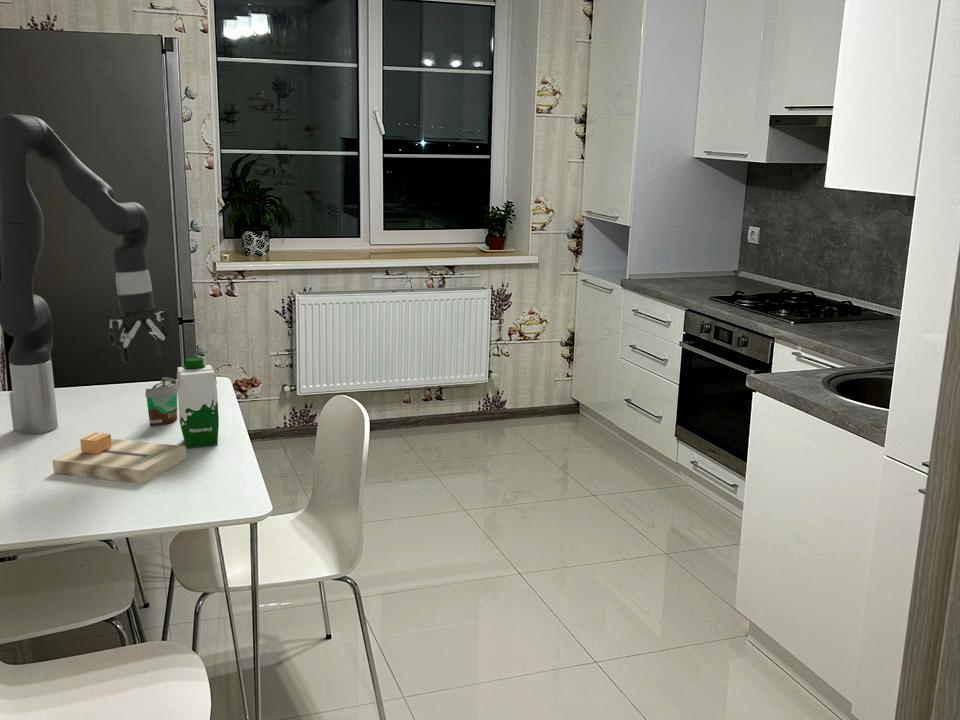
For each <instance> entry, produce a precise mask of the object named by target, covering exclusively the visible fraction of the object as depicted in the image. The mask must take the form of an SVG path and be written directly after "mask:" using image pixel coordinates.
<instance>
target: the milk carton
mask: <svg viewBox="0 0 960 720" xmlns="http://www.w3.org/2000/svg"><path fill="white" fill-rule="evenodd" d="M184 361H185V366H184V365H183V366H179V367H178V366H177V371H176V380H177V386H178V392H177V405H178V413H179V414H178V415H179V425H180V429H181V433H182V437H183V441H184V444H185V448H186V449H195V448H204V447H212V446H218V445H219V443H218V442H219V429H220V428H219V426H220V424H219V423H220V420H219V402H218V387H217V382H218V381H217V376H216V373H215V369H214V368H213V367H212V365H211V364H204V358H203V357H199V356H193V357H187V358H185V359H184Z"/></svg>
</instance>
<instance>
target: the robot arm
mask: <svg viewBox="0 0 960 720" xmlns="http://www.w3.org/2000/svg"><path fill="white" fill-rule="evenodd" d="M27 157H37V158H38V159H40V160H42V161H43V162H45V163H46V164H48V165H49V166H51V168H53V170H55V172H56V173H57V175H58V177H59V179H60V181H61V183H62V185H63V187H64V188H65V189H66V190H67V192H68V193H69V194H71V195H72V196H73V197H74V198H75V199H76V200H77V201H79V202H80V203H81V204H82V205H83V206H84V207H86V208H87V209H88V211H90V214H92V216H93V217H94V218H95V220H96V222H97V223H98V224H99V226H100V227H101V228H103V230H105V231H106V232H108V233H109V234H111V235H115V236H122V241H121V244H119V245H118V246H116V247H115V248H114V249H113V261H114V262H113V264H114V269H115V285H116V291H117V299H118V306H119V312H120V315H121V316H120V319H109V320H108V321H107V325H108V326H107V327H108V336H109V337H108V340H109V345H110V347H111V346H113V347H117V348H118V349H119V356H120V360H121V362H123V364H126V365H128V364H131V362H132V360H131V353H130V347H128V346H129V345H130V342H131V340H132V339H134V337H135V336H139V335H142V334H149V335H151V336H152V337H153V338H155V340H154V343H155V352H156V355H157V357H164V356H165V354H166V351H167V350H166V343H165V339H166V338H168V337H170V336H172V329H171V324H170V317H169V314H168V312H167V311H163V310H159V311H158V312H155V301H154V293H153V286H152V280H151V276H150V271H149V266H148V258H147V246H148V240H149V232H150V231H149V229H150V221H149V215H148V213H147V211H146V209H145V207H144V206H143V205H141V204H140V203H138V202H134V201H129V202H117V201H116V200H114V199H115V192H114V191H115V190H114V189H113V188H112V187H111V186H110V185H109V184H108V183H107V182H106V181H105V180H103V179H102V178H101V177H100V176H98V175H97V174H96V173H95V172H94V171H93V170H91V169H90V168H88V167H87V166H86V165H85V164H84V163H83V162H82V161H81V160H80V159H79V158H78V157H77V156H76V155H75V154H74V153H73V152H72V151H71V149H70V148H69V147H68V146H67V145H66V144H65V143H64V142H63V141H62V140H61V138H60V137H59V136H58V135H57V134H56V133H55V131H54V130H53V129H52V127H50V126H49V125H48V124H47V123H46V122H45V121H44V120H42V119H41V118H39V117H37V116H34V115H27V114H26V115H25V114H14V113H13V114H12V113H8V114H3V115H0V328H2V330H3V331H4V332H5V333H6V334H7V335H8V336H11V337H13V343H12V345H11V348H10V349H9V351H8V363H9V365H8V366H9V371H10V372H9V373H10V380H11V388H12V391H10V392H9V402H10V403H9V405H10V412H11V420H12V421H11V423H12V430H13V431H17V432H18V433H21V434H24V435H25V434H26V435H27V434H32V435H33V434H42V433H46V432H50V431H53V430H56V429H57V428H58V427H59V421H58V412H57V401H56V393H55V392H56V390H55V383H54V382H55V381H54V374H53V363H52V349H53V345H54V339H53V337H54V336H53V322H52V313H51V309H50V306H49V304H48V302H47V301H46V300H45V299H44V298H43V297H42V296H39V294H38V295H37V294H34V279H35V273H36V270H37V266H38V263H39V260H40V257H41V254H42V250H43V246H44V239H45V235H44V231H45V227H44V222H45V221H44V215H43V214H44V213H43V211H42V208H41V206H40V203H39V201H38V200H37V198H36V196H35V194H34V192H33V190H32V188H31V186H30V184H29V180H28V175H27ZM156 320H157V321H158V323H159V327H157V325H155V323H156ZM121 327H123V329H122V331H121V334H120V329H121ZM159 328H160V329H159Z"/></svg>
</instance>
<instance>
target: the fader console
mask: <svg viewBox="0 0 960 720" xmlns="http://www.w3.org/2000/svg"><path fill="white" fill-rule="evenodd" d="M111 443H112V447H111V448H109V449H107V450H105V451H103V452H101V453H98V454H92V453H83V452H81V446H79V447H77V448H76V449H73V450H71V451H69V452H66V453H65V454H63V455H60V456H58V457H57V458H54V459H52V466H53V467H52V468H53V474H56V473H60V474H59V475H64V474H69V475H68V476H73V475H77V476H76V477H81V476H86V477H85V478H90V477H92V478H91V479H98V478H100V479H99V480H108V481H116V482H125V483H131V484H132V483H134V484H142V485H143V484H146V483H147V482H149V481H150V480H153V479H154V478H156V477H158V476H159V475H161V474H163V473H164V471H165V472H166V471H168V470H169V468H170V469H171V468H173V467H174V465H175V466H177V465H178V464H180V463H181V461H182V460H183V461H184V460H186V459H187V455H186V454H187V452H186V445H178V444H169V443H158V442H148V441H139V440H138V441H137V440H131V439H130V440H129V439H120V438H119V439H118V438H111ZM183 461H182V462H183ZM179 462H180V463H179ZM172 466H173V467H172Z"/></svg>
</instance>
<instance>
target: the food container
mask: <svg viewBox="0 0 960 720" xmlns="http://www.w3.org/2000/svg"><path fill="white" fill-rule="evenodd" d="M144 394H145V398H146V405H147V412H148V419H149V426H150V427H159V426H166V425H169V424H173V423H175V422H177V420H178V386H177V378H176V379H175V378H172V377H163V376H162V377H161V381H160V382H159V383H155V384H154V385H153V386H152V387H151V388H145V393H144Z"/></svg>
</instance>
